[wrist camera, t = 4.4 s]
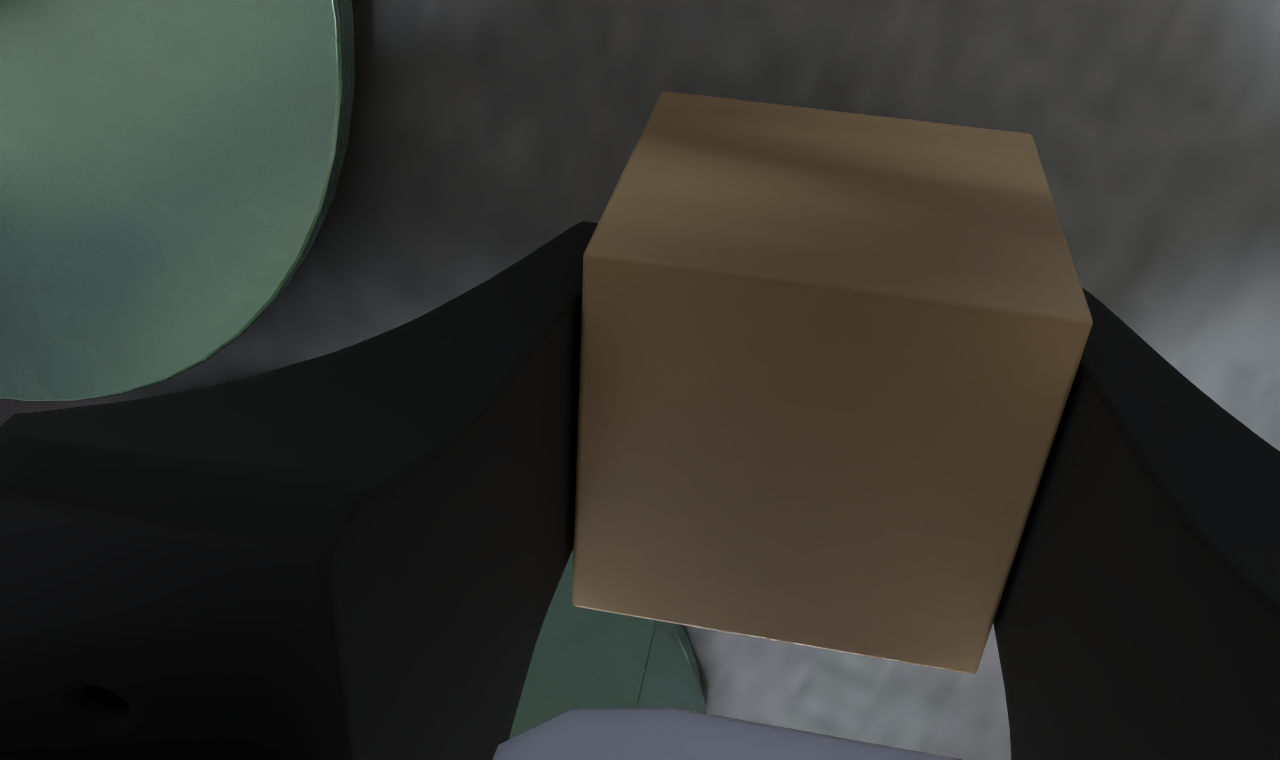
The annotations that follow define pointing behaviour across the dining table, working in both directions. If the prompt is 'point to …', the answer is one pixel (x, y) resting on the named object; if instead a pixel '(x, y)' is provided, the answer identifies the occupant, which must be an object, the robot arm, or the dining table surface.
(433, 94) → the dining table surface
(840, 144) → the block
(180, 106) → the lid
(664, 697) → the jar
